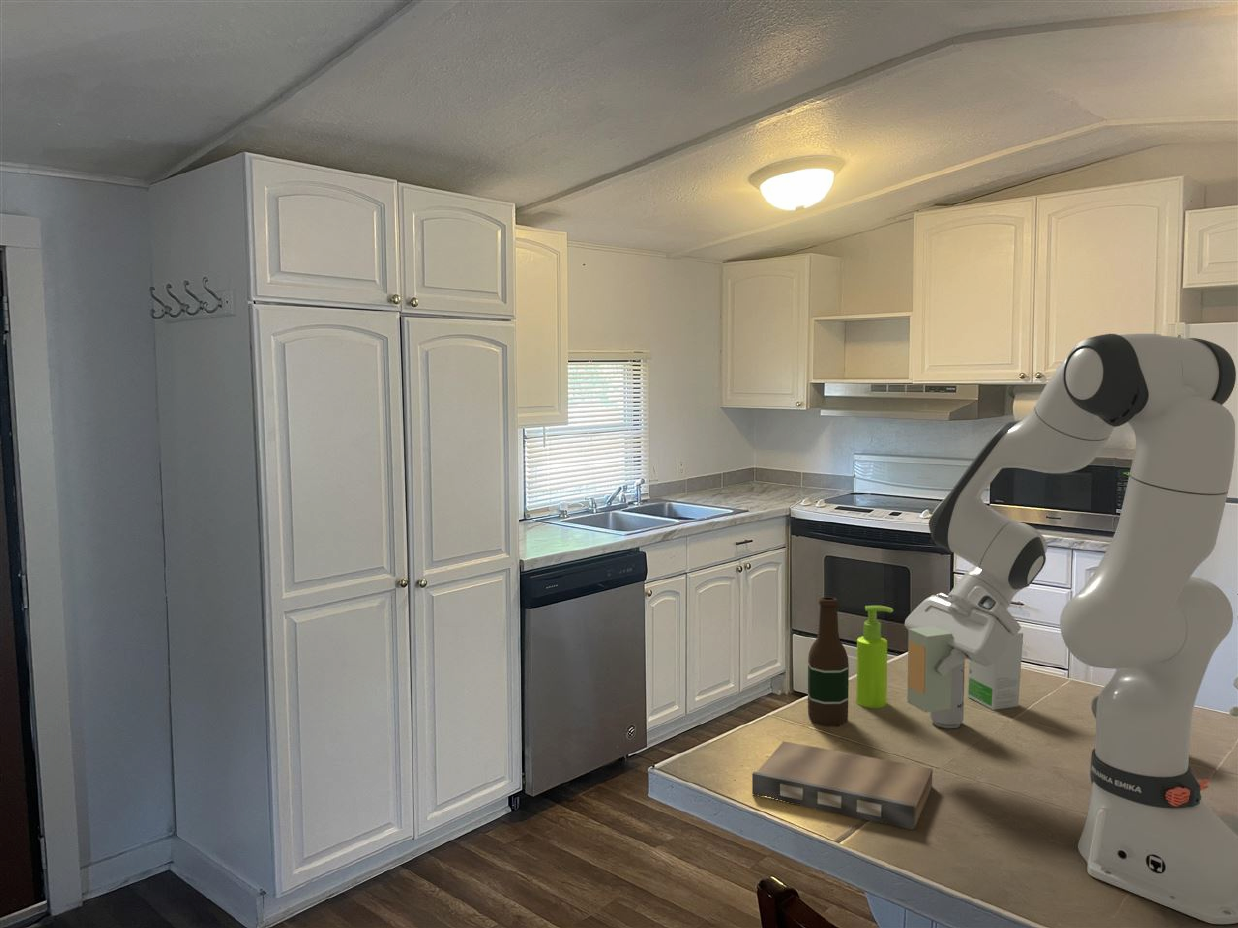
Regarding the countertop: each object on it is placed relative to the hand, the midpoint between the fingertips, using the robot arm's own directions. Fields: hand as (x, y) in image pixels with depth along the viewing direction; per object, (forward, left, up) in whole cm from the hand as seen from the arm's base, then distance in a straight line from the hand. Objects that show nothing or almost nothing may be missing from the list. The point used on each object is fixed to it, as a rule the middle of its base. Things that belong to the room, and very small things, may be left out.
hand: (926, 666), depth 154 cm
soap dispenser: (+26, -14, -17) cm, 34 cm away
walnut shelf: (0, +18, -17) cm, 25 cm away
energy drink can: (+11, -18, -17) cm, 27 cm away
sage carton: (0, -1, -7) cm, 7 cm away
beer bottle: (+24, 0, -17) cm, 30 cm away
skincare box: (+14, -35, -17) cm, 41 cm away
